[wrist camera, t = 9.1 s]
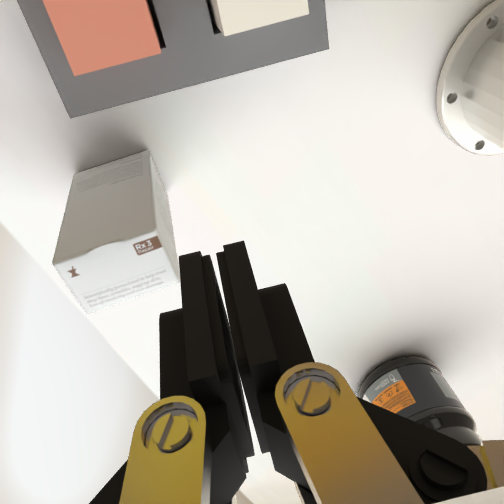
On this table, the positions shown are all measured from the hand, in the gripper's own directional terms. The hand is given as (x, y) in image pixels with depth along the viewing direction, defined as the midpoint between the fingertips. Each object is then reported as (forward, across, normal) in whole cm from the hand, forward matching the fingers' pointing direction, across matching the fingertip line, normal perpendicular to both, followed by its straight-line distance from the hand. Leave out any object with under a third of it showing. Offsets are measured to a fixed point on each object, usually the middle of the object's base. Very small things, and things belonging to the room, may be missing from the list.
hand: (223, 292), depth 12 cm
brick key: (+21, +3, -5) cm, 22 cm away
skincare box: (+24, +6, +7) cm, 26 cm away
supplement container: (+26, -16, +42) cm, 51 cm away
